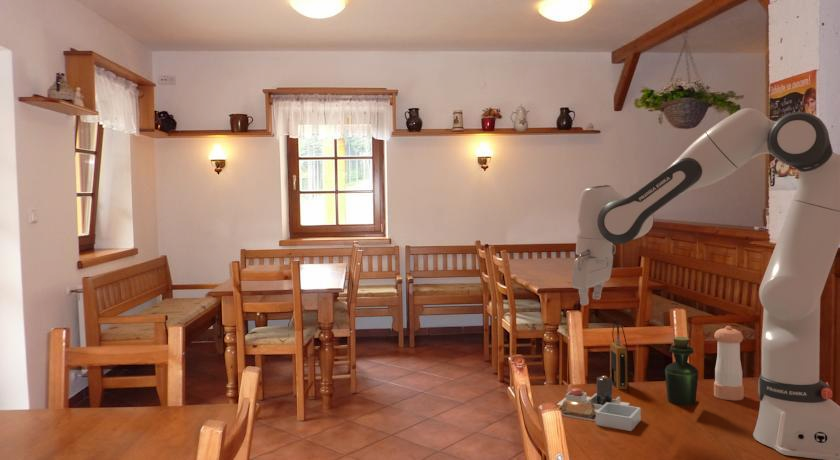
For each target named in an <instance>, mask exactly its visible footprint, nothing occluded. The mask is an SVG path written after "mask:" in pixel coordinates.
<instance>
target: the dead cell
mask: <svg viewBox="0 0 840 460" xmlns="http://www.w3.org/2000/svg"><path fill="white" fill-rule="evenodd" d="M596 393H597V404H599V405H604V404H605V403H606V402H608V403H612V399H613V384H612V378H611V377H610V376H609V377H608V376H607V375H602V376H598V377H596Z"/></svg>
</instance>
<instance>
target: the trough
mask: <svg viewBox="0 0 840 460" xmlns="http://www.w3.org/2000/svg"><path fill="white" fill-rule="evenodd" d="M558 407H559V408H560V409H559V410H562V405H558ZM595 414H596V411H595ZM562 415H563V416H562V417H566V418H572V419H577V420H578V419H579V420H585V421H589V422H595V423H596V416H595V417H594V418H585V417H579V416H574V415H568V414H563V413H562Z"/></svg>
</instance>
